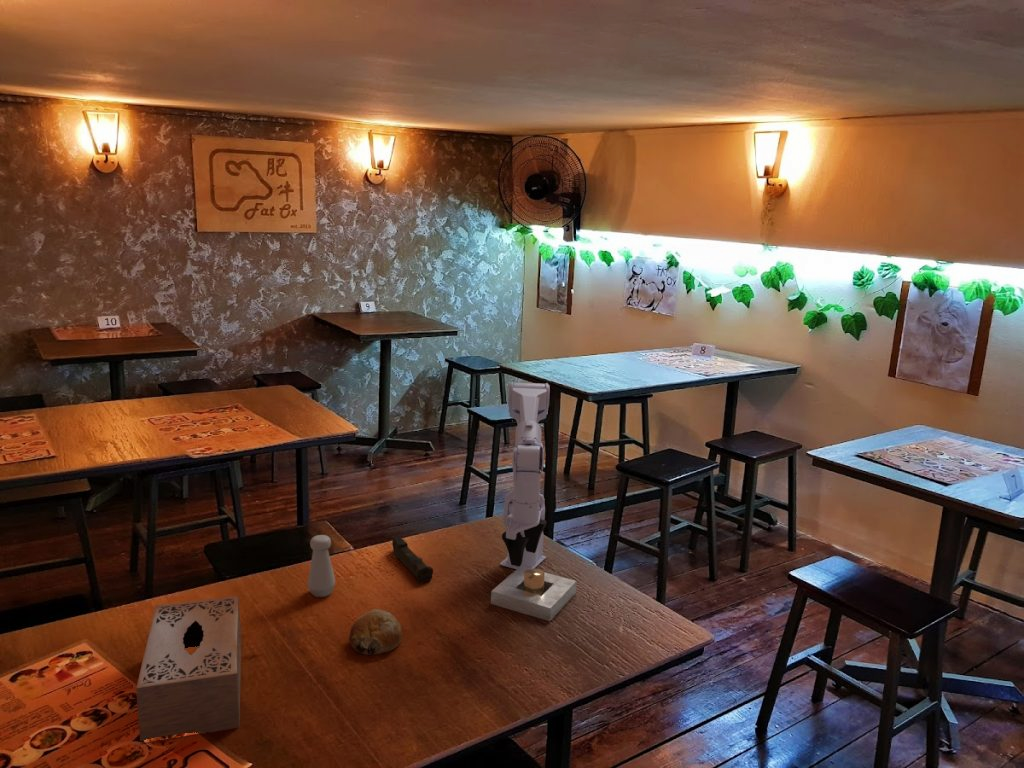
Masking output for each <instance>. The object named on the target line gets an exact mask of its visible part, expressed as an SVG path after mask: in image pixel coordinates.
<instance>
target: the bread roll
mask: <svg viewBox="0 0 1024 768" xmlns="http://www.w3.org/2000/svg"><path fill="white" fill-rule="evenodd" d="M349 632H350V633H349V636H348V637H349V638H348V639H349V644H350V646H351V647H352V650H353V649H354V650H355V651H356V652H358V653H360V654H363V655H368V656H370V655H371V656H372V655H381V654H384V653H389V652H391V651H392V650H394V649H396V648H397V647H398V646H399V644H400V643H401V641H402V637H403V631H402V626H401V623H400V622H399V621H398V620H397V618H396V617H395V616H394V615H393V614H391V613H390V612H389V611H387V610H383V609H378V608H373V609H371V610H370V611H367V612H365V613H363V615H361V616H360V617H359V616H358V618H357V619H356V620H355V622H354V623H353V624H352V626H351V629H350V631H349Z"/></svg>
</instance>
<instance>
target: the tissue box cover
mask: <svg viewBox="0 0 1024 768" xmlns="http://www.w3.org/2000/svg"><path fill="white" fill-rule="evenodd" d="M240 604H241V603H240V595H235V596H228V597H227V596H226V597H216V598H209V599H201V600H200V599H199V600H191V601H190V600H189V601H185V602H184V601H183V602H175V603H174V602H173V603H168V604H166V603H165V604H158V605H157V604H156V605H155V607H154V610H153V615H152V620H151V622H150V623H151V624H150V627H149V633H148V637H147V641H146V646H145V649H144V654H143V659H142V662H141V667H140V671H139V675H138V679H137V683H136V684H137V685H136V687H135V688H136V701H137V702H136V704H137V715H138V727H139V730H138V731H139V741H142V740H146V739H151V738H155V737H162V736H168V735H175V734H180V733H181V734H182V733H193V732H194V733H195V732H196V733H197V732H198V733H199V732H200V733H201V732H202V733H203V732H209V733H214V732H218V731H219V732H220V731H221V732H222V731H226V730H231V729H232V730H233V729H237V728H240V727H241V725H240V722H241V721H240V720H241V719H240V718H241V678H242V677H241V675H242V674H241V671H242V670H241V668H242V666H241V665H242V663H241V662H242V633H241V632H242V629H241V608H240ZM195 646H196V647H197V646H200V647H199V648H197V649H196V651H195V652H194V653H192V655H191V654H190V653H188V652H187V650H186V649H184V648H188V647H195ZM203 734H204V733H203Z"/></svg>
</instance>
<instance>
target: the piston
mask: <svg viewBox="0 0 1024 768" xmlns="http://www.w3.org/2000/svg"><path fill="white" fill-rule="evenodd" d="M544 572H545V571H543V570H542V569H539V568H534V569H528V570H526V571H525V572H524V591H527V592H530V593H534V594H537V595H541V596H542V595H543V594H544Z"/></svg>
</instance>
